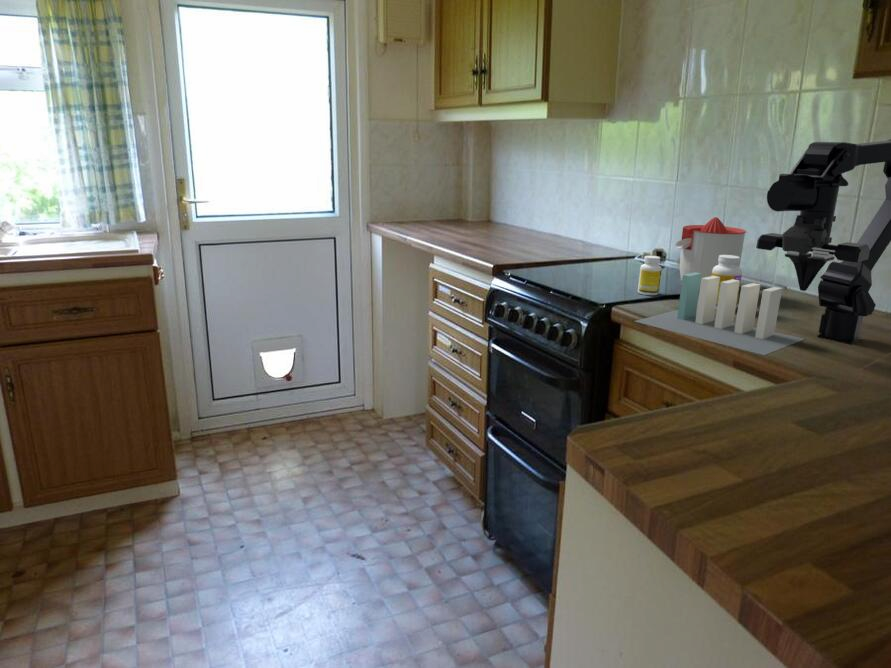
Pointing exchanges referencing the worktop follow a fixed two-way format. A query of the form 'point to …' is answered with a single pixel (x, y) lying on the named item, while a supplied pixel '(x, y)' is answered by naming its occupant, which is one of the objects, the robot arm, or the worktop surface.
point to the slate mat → (720, 333)
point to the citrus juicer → (708, 246)
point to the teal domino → (689, 295)
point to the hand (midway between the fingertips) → (803, 290)
